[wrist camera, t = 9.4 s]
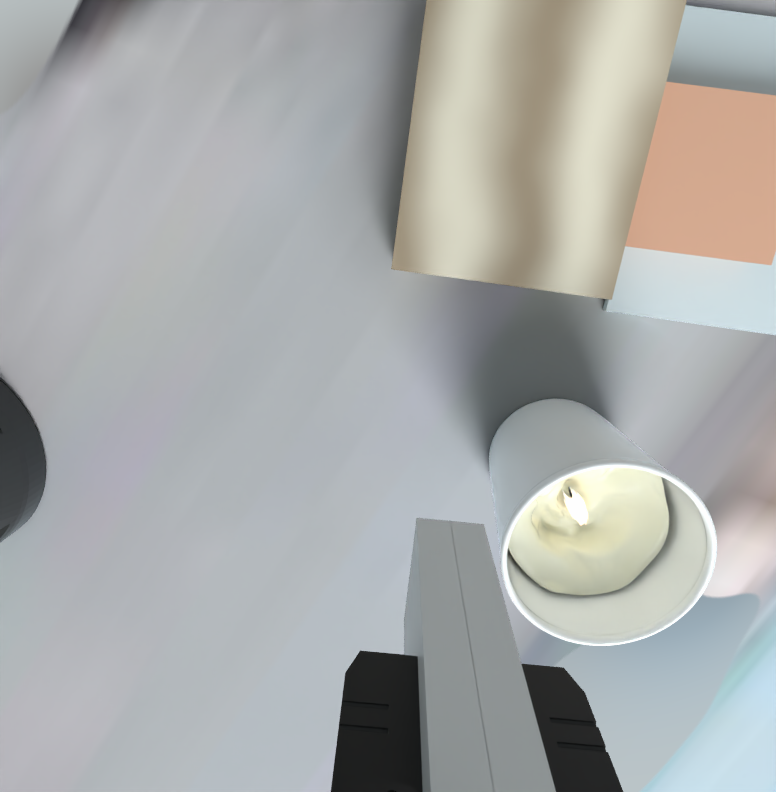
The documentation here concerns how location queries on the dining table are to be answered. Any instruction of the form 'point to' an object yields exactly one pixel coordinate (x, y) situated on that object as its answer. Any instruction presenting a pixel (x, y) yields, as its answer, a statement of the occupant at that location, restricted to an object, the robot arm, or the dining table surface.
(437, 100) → the birch board
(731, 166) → the terracotta tile
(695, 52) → the rubber mat
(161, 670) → the dining table surface
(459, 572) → the robot arm
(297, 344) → the dining table surface
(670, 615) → the candle holder
